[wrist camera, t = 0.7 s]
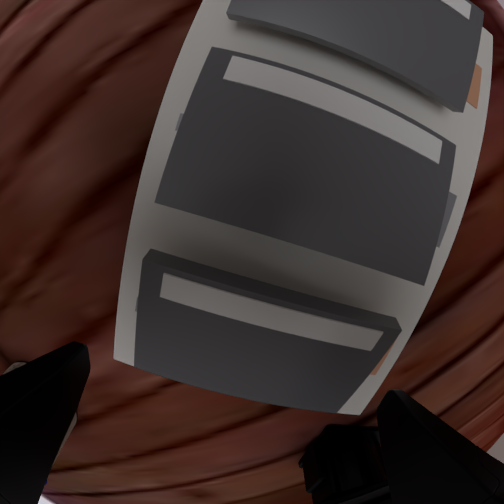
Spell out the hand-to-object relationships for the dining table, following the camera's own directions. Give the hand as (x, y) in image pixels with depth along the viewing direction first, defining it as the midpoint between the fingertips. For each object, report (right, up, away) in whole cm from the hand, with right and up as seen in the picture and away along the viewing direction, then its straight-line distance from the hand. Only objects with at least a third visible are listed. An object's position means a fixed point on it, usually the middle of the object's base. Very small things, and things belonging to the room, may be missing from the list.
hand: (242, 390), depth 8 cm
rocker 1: (+6, +16, +2) cm, 17 cm away
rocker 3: (+1, -1, +7) cm, 7 cm away
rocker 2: (+3, +7, +4) cm, 9 cm away
